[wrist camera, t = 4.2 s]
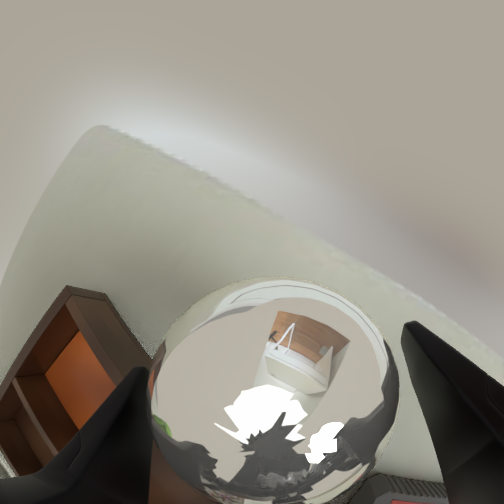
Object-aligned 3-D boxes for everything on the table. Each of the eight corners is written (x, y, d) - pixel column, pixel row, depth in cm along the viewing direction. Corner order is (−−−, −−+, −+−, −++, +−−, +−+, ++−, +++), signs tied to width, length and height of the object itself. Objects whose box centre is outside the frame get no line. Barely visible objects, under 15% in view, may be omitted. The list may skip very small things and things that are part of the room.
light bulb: (202, 347, 16) (43, 374, 5) (296, 275, 16) (292, 166, 5) (273, 436, 14) (227, 587, 3) (369, 366, 14) (497, 438, 3)
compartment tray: (298, 502, 13) (296, 538, 9) (136, 563, 12) (117, 583, 8) (105, 292, 18) (66, 284, 14) (12, 414, 17) (-17, 418, 13)
